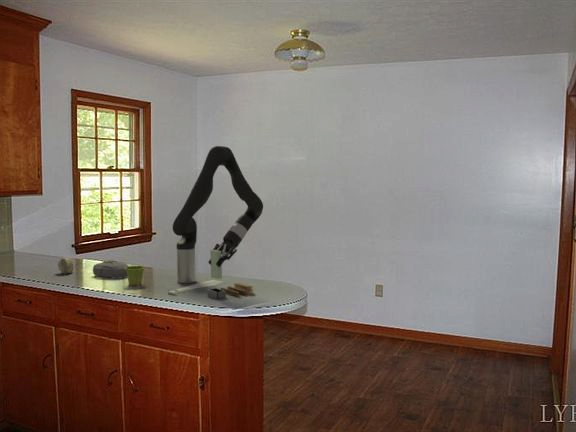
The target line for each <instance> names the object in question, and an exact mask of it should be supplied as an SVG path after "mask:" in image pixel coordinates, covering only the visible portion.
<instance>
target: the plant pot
mask: <svg viewBox="0 0 576 432" xmlns="http://www.w3.org/2000/svg"><path fill="white" fill-rule="evenodd" d="M128 266H129V265H128ZM125 269H126V272H127V281H128V286H131V287H132V286H140V285H142V284H143V273H144V269H145V266H143V265H131V266H129V267H126V268H125Z"/></svg>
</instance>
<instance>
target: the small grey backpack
mask: <svg viewBox="0 0 576 432" xmlns="http://www.w3.org/2000/svg"><path fill="white" fill-rule="evenodd" d="M126 267H129V265H128V264H127V263H126V262H125V263H124V262H120V261H116V260H111V259H110V260H109V259H108V261H107V260H104V261H103V262H99V263H96V264H94V265H93V267H92V273H93V276H96V277H98V278H103V279H121V278H126V277H127V278H128V276H127V272H126V269H125V268H126Z"/></svg>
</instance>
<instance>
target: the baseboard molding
mask: <svg viewBox="0 0 576 432" xmlns="http://www.w3.org/2000/svg"><path fill="white" fill-rule="evenodd" d="M226 283H227V282H226V281H223V280H218V279H210V280H206V281H203V282H199V283H195V284H191V285H188V286H184V287H181V288H176V289H174V290H169V289H168V291H167V294H168V295H173V296H177V294H175V293H184V294H185V292H184V291H189V290H194V289H199V288H206V287H210V286H216V285H222V284H223V285H224V284H226Z"/></svg>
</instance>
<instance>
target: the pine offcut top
mask: <svg viewBox="0 0 576 432" xmlns="http://www.w3.org/2000/svg"><path fill="white" fill-rule="evenodd" d="M233 286H234V287H236V288H239V289H243V290H246V291H248V290H253V285H251V284H247V283H243V282H234V285H233Z"/></svg>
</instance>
